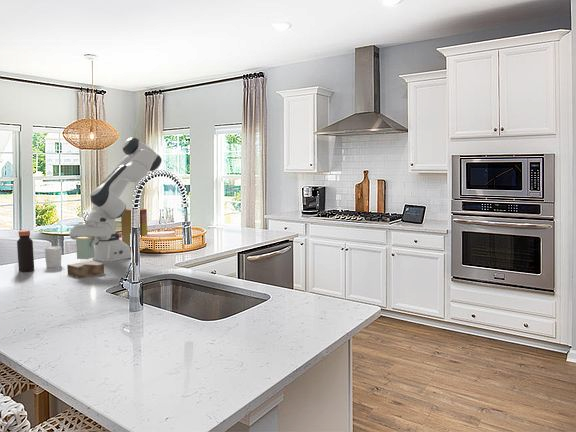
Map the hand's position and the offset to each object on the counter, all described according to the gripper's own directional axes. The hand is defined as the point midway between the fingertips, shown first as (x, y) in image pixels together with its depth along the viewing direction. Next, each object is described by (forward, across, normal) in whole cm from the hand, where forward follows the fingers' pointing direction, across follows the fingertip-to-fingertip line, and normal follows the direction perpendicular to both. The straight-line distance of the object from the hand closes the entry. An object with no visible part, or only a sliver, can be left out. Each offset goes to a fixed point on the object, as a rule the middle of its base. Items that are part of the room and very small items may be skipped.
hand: (84, 246), depth 225 cm
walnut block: (+10, 0, +10) cm, 14 cm away
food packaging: (-39, -12, +59) cm, 71 cm away
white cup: (0, -27, +19) cm, 33 cm away
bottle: (+8, -34, +11) cm, 37 cm away
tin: (+4, 0, +5) cm, 6 cm away
